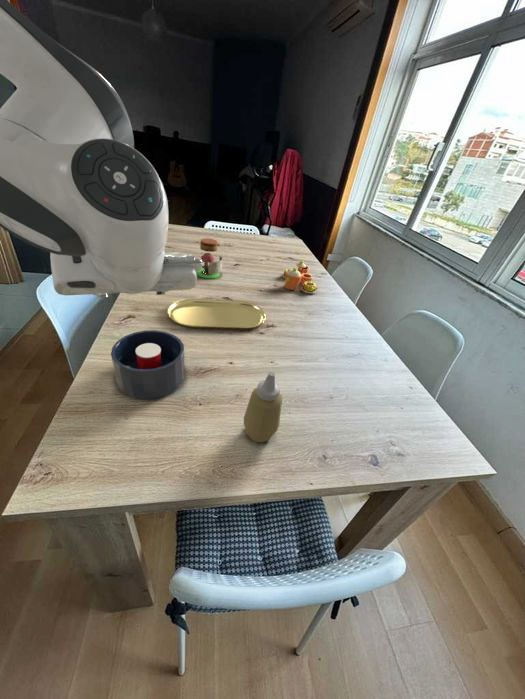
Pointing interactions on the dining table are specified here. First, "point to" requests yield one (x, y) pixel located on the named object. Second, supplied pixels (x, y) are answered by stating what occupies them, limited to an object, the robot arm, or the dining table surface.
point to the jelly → (148, 356)
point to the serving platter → (216, 314)
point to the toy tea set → (299, 278)
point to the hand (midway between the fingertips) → (132, 291)
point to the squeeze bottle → (263, 410)
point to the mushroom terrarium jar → (209, 260)
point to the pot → (148, 380)
